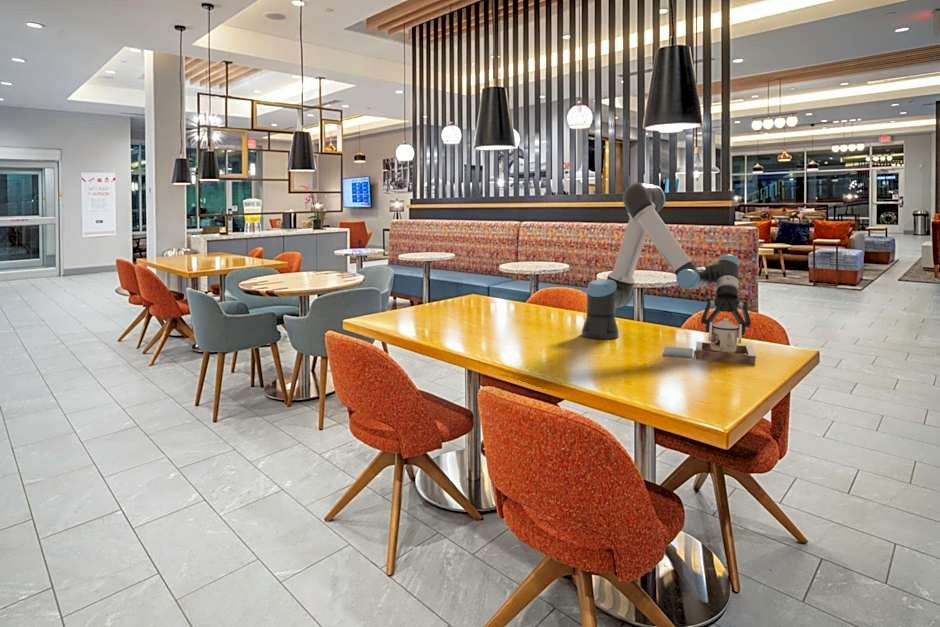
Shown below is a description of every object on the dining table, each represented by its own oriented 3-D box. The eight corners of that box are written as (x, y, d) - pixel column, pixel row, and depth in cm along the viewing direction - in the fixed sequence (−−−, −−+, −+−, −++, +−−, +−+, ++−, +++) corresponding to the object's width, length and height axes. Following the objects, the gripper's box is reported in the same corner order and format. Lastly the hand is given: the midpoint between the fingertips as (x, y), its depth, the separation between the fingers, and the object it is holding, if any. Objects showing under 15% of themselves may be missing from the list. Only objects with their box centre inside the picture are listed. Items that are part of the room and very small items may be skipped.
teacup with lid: (705, 346, 216) (708, 315, 214) (730, 347, 216) (733, 316, 214) (719, 354, 204) (722, 321, 202) (745, 355, 204) (748, 322, 202)
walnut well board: (695, 359, 205) (695, 351, 205) (695, 349, 222) (696, 341, 221) (755, 364, 199) (755, 356, 198) (751, 353, 215) (751, 345, 215)
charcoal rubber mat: (662, 355, 211) (662, 354, 211) (665, 347, 225) (665, 346, 224) (692, 358, 207) (692, 357, 207) (693, 349, 221) (693, 348, 221)
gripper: (696, 282, 219) (692, 331, 208) (760, 285, 212) (760, 337, 200) (695, 294, 225) (691, 343, 213) (758, 298, 217) (757, 349, 205)
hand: (724, 340), depth 206 cm, fingers closed on teacup with lid, 9 cm apart
